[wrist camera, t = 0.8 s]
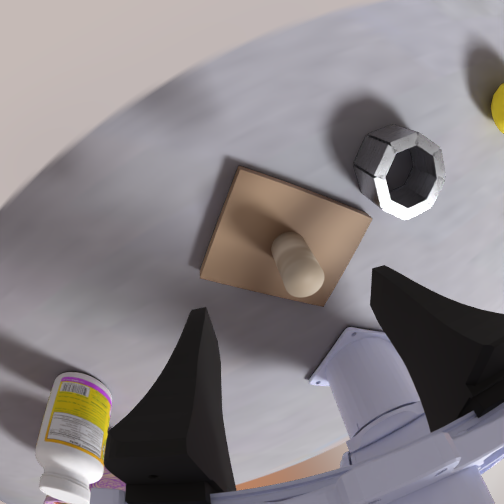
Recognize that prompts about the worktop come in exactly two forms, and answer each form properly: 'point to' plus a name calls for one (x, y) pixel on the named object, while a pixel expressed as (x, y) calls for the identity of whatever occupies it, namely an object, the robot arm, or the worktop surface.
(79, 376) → the supplement bottle
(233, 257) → the post board
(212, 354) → the robot arm
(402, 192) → the collar ring
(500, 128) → the lemon
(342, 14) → the worktop surface
